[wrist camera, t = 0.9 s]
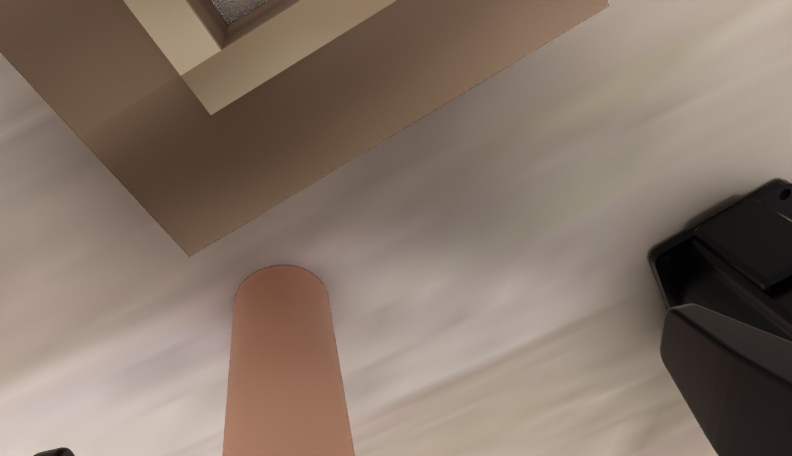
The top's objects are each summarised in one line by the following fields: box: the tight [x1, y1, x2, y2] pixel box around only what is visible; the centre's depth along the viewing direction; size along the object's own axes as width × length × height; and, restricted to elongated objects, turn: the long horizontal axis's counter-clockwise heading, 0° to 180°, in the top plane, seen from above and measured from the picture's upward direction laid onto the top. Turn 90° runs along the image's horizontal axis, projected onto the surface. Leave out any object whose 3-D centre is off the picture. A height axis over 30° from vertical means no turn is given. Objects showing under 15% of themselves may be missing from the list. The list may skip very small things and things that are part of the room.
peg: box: [223, 265, 355, 456], centre depth 19 cm, size 4×4×9 cm
